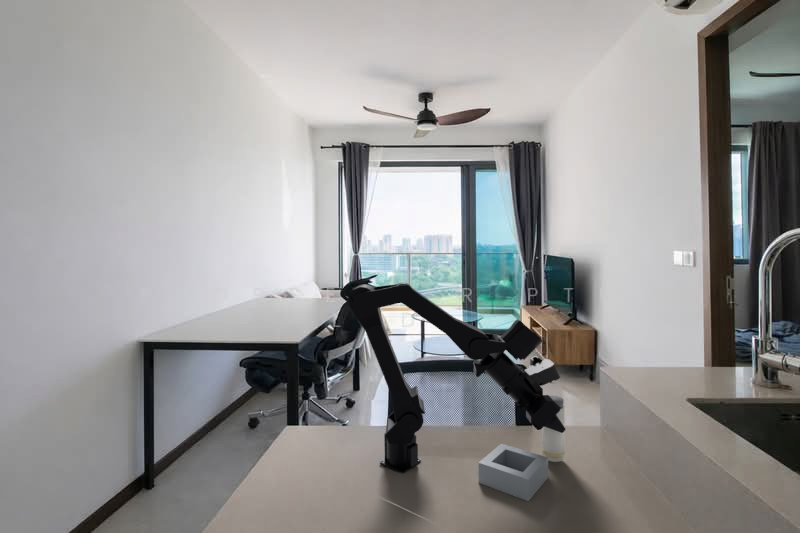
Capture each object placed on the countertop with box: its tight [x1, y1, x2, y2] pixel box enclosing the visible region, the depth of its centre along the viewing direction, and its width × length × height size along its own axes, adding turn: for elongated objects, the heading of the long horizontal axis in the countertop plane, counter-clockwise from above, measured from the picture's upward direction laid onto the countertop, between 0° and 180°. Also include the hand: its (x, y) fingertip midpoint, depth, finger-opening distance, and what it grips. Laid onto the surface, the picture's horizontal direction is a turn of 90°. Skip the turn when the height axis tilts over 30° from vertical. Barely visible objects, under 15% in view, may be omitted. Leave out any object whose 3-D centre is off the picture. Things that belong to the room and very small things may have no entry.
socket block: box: [478, 443, 549, 502], centre depth 84 cm, size 10×10×4 cm
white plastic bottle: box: [541, 395, 565, 463], centre depth 91 cm, size 4×4×12 cm
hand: (559, 426), depth 91 cm, fingers closed on white plastic bottle, 4 cm apart
